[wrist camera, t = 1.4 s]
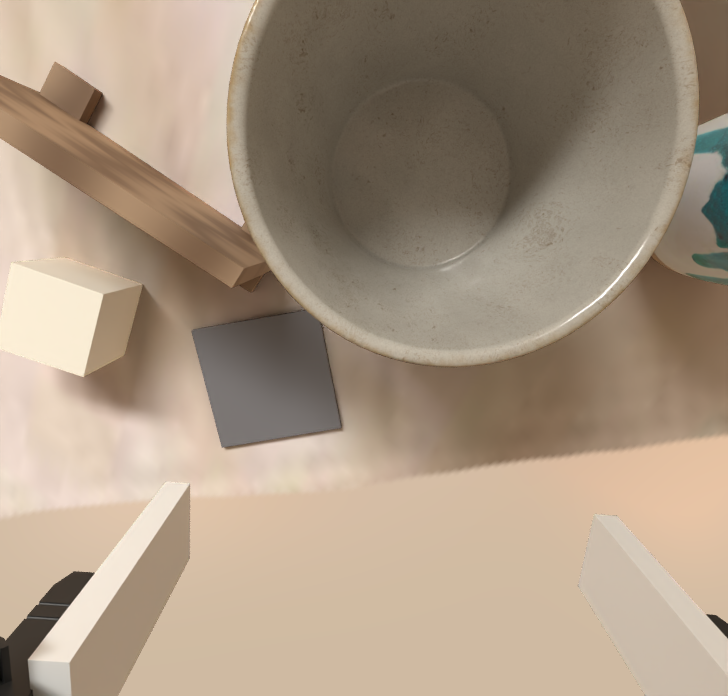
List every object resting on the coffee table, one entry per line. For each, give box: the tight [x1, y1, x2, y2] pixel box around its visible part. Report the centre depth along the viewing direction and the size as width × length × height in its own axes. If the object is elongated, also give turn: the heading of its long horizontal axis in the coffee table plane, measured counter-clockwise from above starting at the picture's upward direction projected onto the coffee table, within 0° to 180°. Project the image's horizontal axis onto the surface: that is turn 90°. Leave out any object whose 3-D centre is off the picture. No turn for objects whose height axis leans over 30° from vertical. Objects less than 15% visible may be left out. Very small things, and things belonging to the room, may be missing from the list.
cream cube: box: [0, 257, 143, 377], centre depth 35 cm, size 6×6×6 cm
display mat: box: [192, 310, 341, 447], centre depth 39 cm, size 10×10×1 cm
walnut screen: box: [0, 62, 271, 293], centre depth 29 cm, size 20×6×13 cm, turn 56°
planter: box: [226, 0, 699, 367], centre depth 28 cm, size 19×19×16 cm
